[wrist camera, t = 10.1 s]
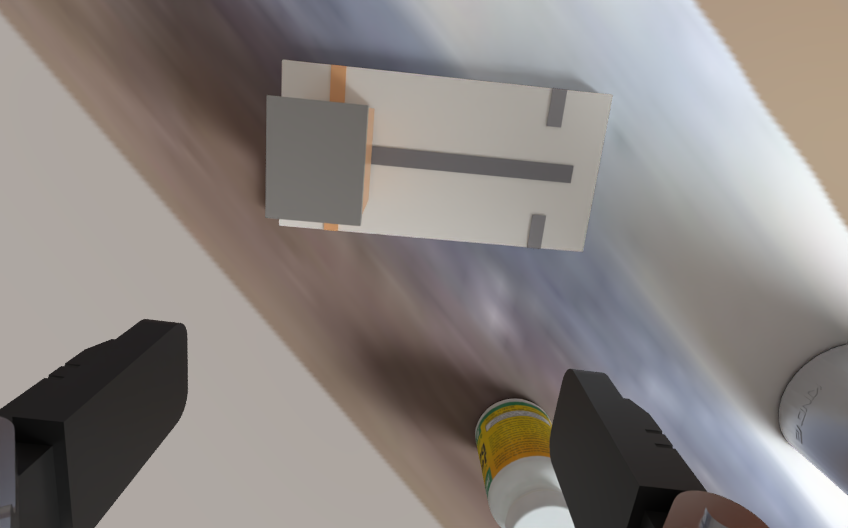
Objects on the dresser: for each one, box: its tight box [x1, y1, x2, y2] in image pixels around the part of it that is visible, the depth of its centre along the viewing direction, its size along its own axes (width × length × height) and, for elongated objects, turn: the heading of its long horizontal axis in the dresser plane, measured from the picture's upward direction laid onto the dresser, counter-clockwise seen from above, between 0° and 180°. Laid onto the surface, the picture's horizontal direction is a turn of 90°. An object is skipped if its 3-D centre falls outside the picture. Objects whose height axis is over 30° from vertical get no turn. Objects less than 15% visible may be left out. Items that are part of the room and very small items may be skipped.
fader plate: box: [279, 60, 613, 252], centre depth 29 cm, size 18×9×2 cm, turn 84°
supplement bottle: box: [475, 398, 575, 528], centre depth 31 cm, size 5×5×10 cm
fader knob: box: [265, 95, 375, 226], centre depth 25 cm, size 4×5×6 cm
